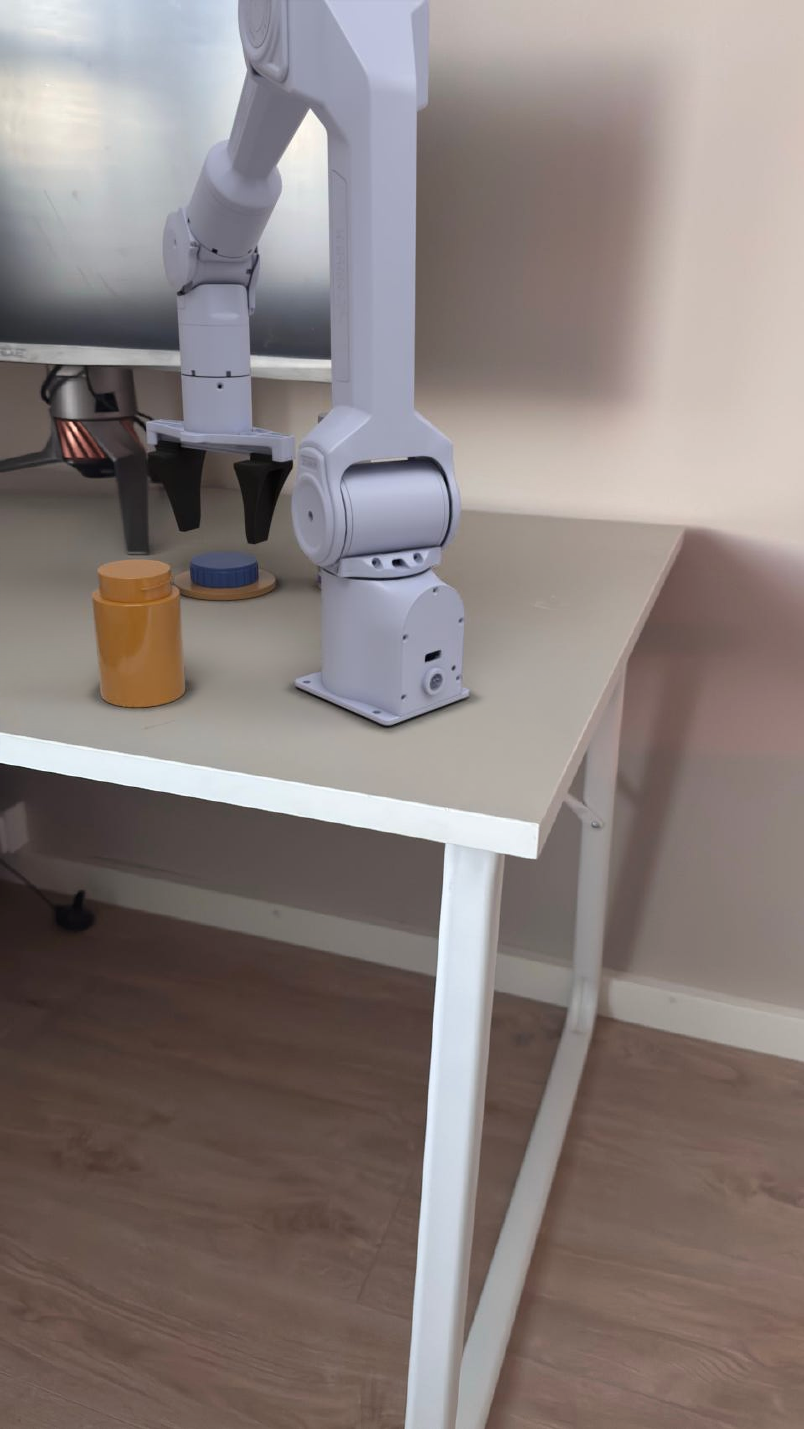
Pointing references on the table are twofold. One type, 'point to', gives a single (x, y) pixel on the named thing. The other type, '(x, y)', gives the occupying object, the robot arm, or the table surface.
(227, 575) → the lid
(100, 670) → the jar
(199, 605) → the table surface
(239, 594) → the coaster
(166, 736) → the table surface
